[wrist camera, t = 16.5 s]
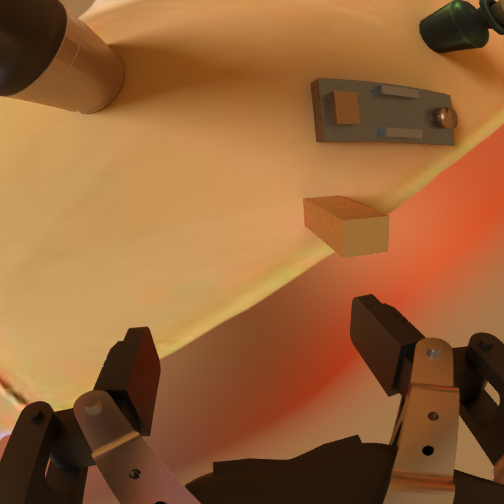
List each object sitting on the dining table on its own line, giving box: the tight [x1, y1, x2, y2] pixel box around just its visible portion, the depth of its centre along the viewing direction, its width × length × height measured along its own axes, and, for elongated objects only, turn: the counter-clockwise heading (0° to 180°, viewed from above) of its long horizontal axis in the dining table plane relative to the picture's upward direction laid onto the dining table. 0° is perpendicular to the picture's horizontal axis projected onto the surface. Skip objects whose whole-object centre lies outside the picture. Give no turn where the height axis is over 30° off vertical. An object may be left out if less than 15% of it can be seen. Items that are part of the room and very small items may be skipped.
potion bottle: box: [419, 0, 504, 53], centre depth 24 cm, size 8×8×18 cm
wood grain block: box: [303, 196, 389, 258], centre depth 33 cm, size 5×4×13 cm
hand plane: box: [311, 78, 457, 146], centre depth 34 cm, size 22×8×5 cm, turn 95°
